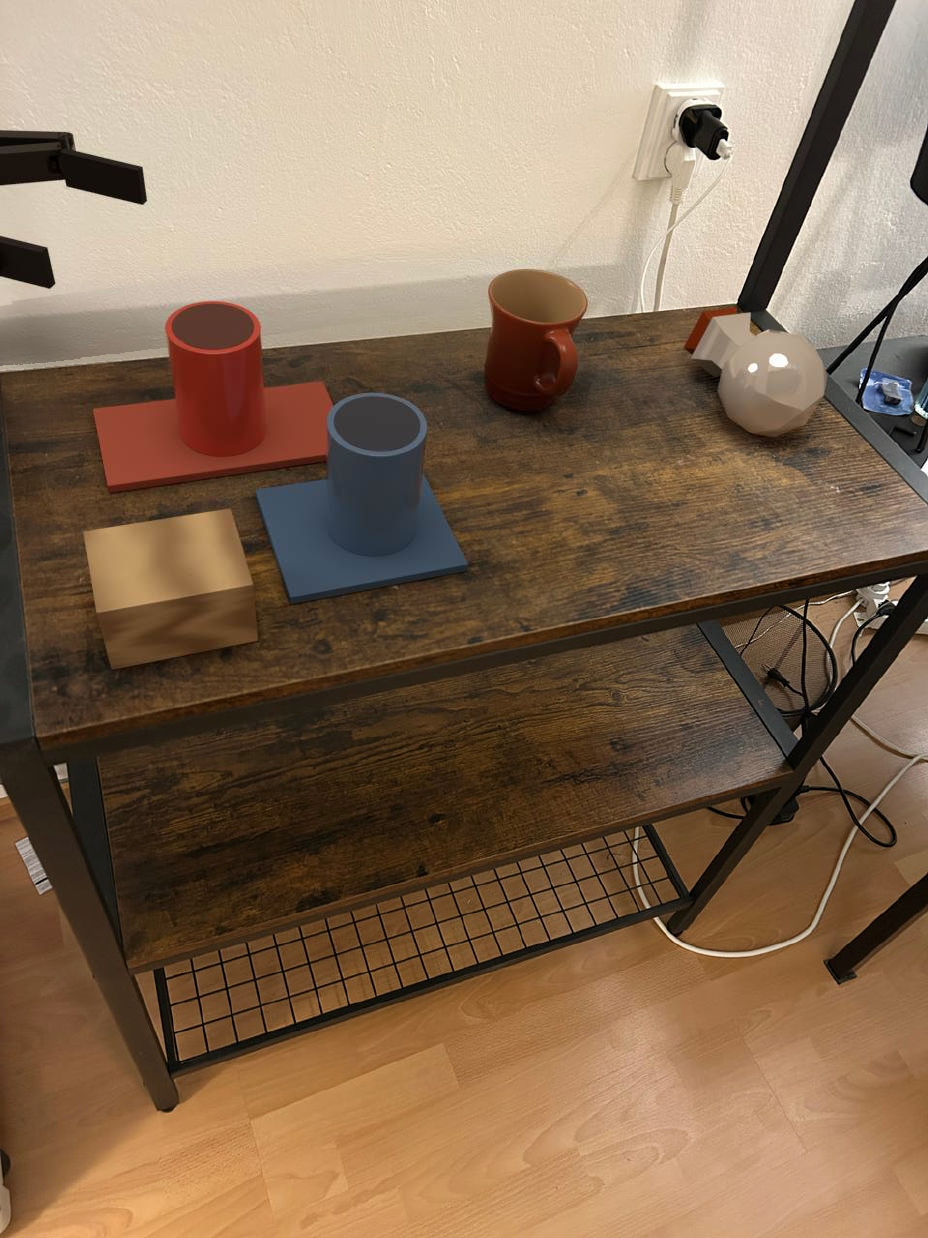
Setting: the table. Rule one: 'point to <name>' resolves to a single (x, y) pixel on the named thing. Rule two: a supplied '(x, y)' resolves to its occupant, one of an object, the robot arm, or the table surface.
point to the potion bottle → (758, 372)
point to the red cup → (217, 377)
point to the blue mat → (330, 569)
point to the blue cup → (374, 473)
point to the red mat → (156, 454)
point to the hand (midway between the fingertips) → (99, 224)
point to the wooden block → (171, 587)
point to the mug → (532, 338)
